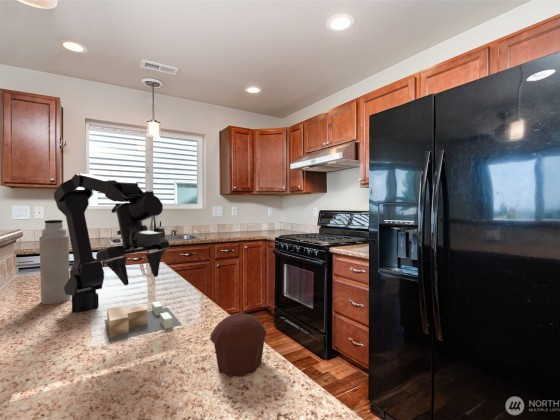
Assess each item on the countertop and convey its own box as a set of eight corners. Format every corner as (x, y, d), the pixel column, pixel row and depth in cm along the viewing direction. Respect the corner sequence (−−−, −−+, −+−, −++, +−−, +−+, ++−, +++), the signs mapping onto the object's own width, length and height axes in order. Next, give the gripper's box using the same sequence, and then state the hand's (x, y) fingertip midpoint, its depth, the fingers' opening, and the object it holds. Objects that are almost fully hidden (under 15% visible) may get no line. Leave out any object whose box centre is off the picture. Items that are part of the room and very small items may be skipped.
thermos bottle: (59, 295, 107) (57, 219, 106) (75, 298, 104) (73, 219, 104) (35, 302, 99) (33, 220, 99) (51, 305, 97) (49, 220, 96)
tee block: (110, 336, 72) (110, 320, 72) (107, 323, 80) (106, 308, 80) (149, 327, 77) (149, 312, 77) (143, 315, 85) (142, 302, 85)
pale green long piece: (164, 329, 76) (164, 319, 76) (152, 310, 90) (151, 302, 90) (172, 327, 78) (172, 317, 77) (158, 309, 91) (158, 301, 91)
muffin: (241, 345, 69) (241, 303, 69) (277, 361, 62) (277, 314, 62) (198, 368, 60) (198, 319, 60) (235, 389, 53) (235, 334, 53)
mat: (109, 345, 69) (109, 342, 69) (104, 322, 83) (104, 320, 83) (182, 327, 79) (182, 324, 79) (167, 309, 92) (167, 307, 92)
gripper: (117, 219, 69) (130, 285, 68) (177, 216, 86) (188, 268, 84) (89, 230, 74) (101, 291, 72) (151, 224, 91) (162, 274, 89)
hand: (142, 280), depth 79 cm, fingers open, 9 cm apart
